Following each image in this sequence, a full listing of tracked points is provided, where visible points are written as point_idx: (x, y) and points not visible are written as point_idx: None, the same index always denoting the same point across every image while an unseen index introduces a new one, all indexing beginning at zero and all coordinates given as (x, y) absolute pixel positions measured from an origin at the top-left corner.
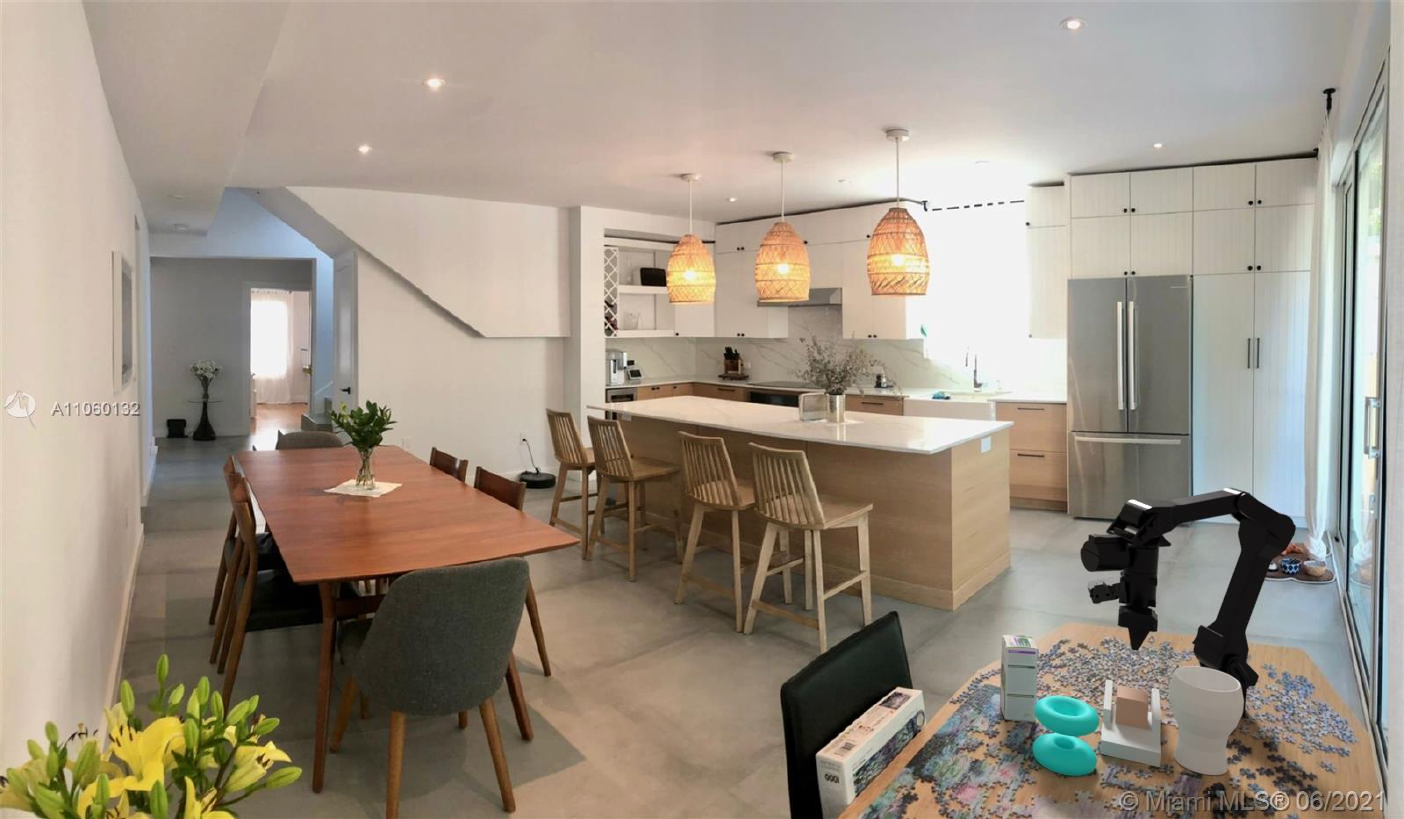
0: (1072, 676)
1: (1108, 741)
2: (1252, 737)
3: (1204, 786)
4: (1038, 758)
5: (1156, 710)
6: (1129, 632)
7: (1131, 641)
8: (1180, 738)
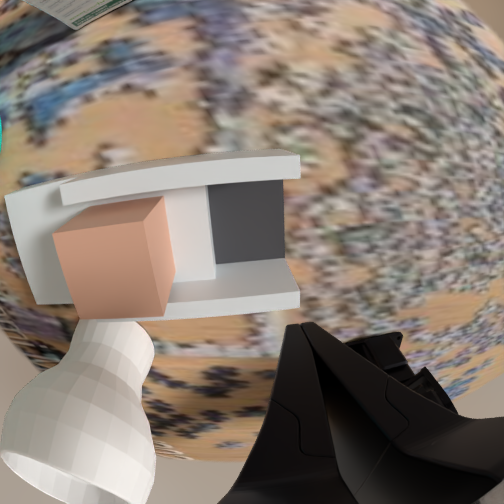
0: (405, 73)
1: (7, 210)
2: (269, 397)
3: (51, 343)
4: None
5: None
6: (267, 417)
7: (278, 364)
8: (76, 346)
